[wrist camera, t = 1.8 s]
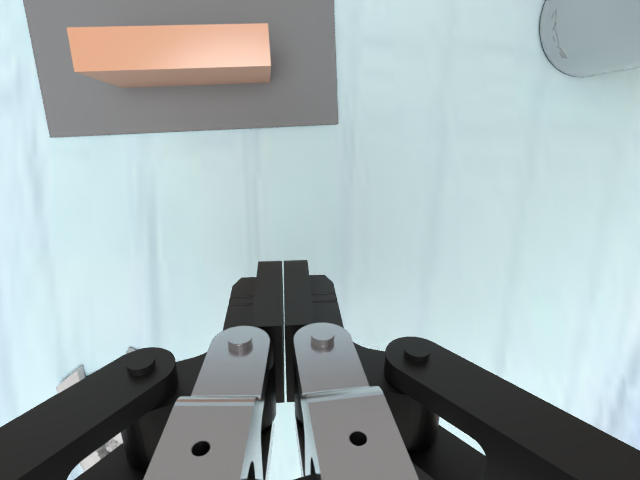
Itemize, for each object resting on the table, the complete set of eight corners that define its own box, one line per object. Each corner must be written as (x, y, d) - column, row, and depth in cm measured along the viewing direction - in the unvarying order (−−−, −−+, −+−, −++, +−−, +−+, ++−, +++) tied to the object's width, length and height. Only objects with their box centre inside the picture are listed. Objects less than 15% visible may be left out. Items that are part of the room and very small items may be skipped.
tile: (267, 50, 35) (267, 23, 27) (269, 82, 36) (271, 65, 27) (117, 54, 34) (66, 27, 25) (122, 87, 35) (74, 71, 26)
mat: (328, -113, 33) (329, -116, 33) (337, 124, 38) (338, 123, 37) (2, -117, 31) (-1, -121, 30) (52, 137, 35) (50, 137, 35)
